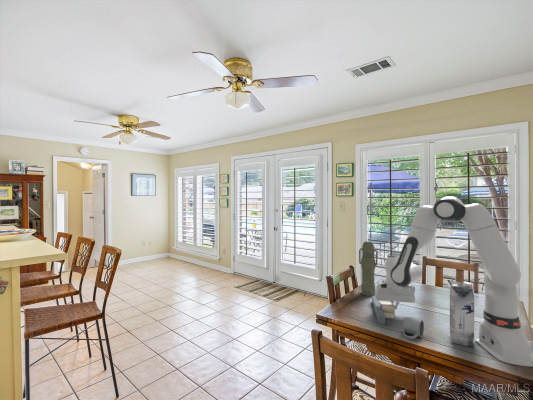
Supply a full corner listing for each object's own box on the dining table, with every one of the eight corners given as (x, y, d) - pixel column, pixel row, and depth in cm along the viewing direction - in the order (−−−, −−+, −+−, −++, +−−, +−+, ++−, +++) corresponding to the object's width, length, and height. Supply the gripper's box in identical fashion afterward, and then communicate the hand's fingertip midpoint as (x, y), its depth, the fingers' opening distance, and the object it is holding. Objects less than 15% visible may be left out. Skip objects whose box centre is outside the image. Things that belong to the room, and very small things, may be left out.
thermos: (377, 297, 177) (377, 243, 177) (358, 294, 183) (358, 242, 182) (378, 293, 185) (378, 241, 185) (359, 290, 191) (359, 240, 190)
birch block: (394, 318, 148) (394, 309, 148) (382, 317, 149) (382, 308, 149) (391, 310, 158) (391, 302, 157) (379, 309, 159) (379, 301, 159)
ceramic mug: (405, 328, 137) (405, 312, 137) (424, 333, 131) (424, 317, 131) (399, 336, 129) (398, 320, 129) (418, 342, 124) (418, 326, 123)
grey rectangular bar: (385, 324, 140) (385, 317, 140) (378, 324, 141) (378, 316, 141) (377, 302, 169) (377, 296, 169) (372, 302, 170) (372, 295, 170)
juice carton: (449, 343, 123) (449, 283, 122) (449, 333, 132) (449, 277, 131) (474, 349, 118) (474, 286, 117) (472, 338, 127) (473, 280, 126)
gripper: (413, 283, 153) (413, 308, 153) (374, 281, 159) (374, 305, 159) (416, 287, 147) (416, 312, 147) (375, 284, 153) (376, 309, 153)
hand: (394, 308), depth 153 cm, fingers closed
